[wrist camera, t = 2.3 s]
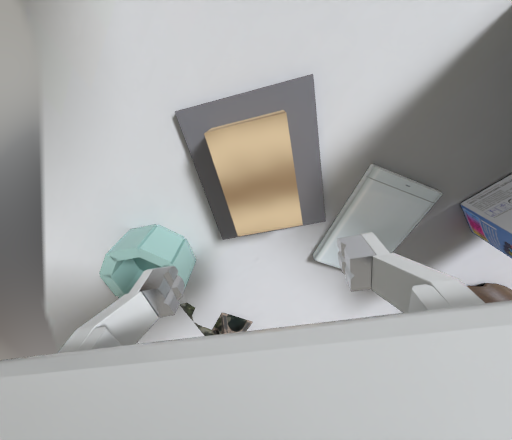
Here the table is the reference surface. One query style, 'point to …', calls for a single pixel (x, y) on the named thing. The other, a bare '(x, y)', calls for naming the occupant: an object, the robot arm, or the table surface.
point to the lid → (257, 172)
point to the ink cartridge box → (492, 215)
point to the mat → (248, 106)
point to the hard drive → (378, 211)
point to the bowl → (145, 257)
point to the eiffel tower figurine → (220, 323)
